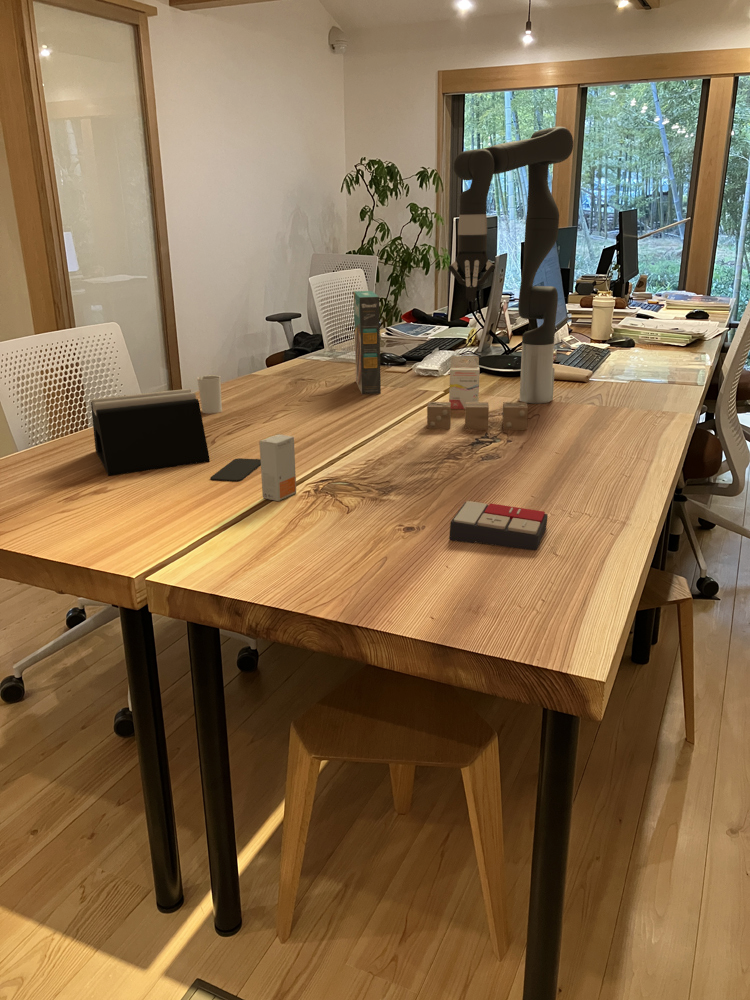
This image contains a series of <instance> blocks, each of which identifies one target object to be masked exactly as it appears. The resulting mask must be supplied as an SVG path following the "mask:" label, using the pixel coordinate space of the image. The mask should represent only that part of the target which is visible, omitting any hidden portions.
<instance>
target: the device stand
mask: <svg viewBox="0 0 750 1000" xmlns="http://www.w3.org/2000/svg"><path fill="white" fill-rule="evenodd" d="M90 406H91V417H92V426H93V427H92V429H93V435H94V436H93V437H94V447H95V452H96V454H97V457H98V458H99V460H100V463H101V464H102V466H103V468H104V470H105V472H106V474H107V477H111V476H119V475H124V474H125V475H127V474H131V473H132V474H133V473H139V472H146V471H152V470H154V471H155V470H161V469H167V468H174V467H180V466H181V467H182V466H189V465H196V464H203V463H209V462H211V461H210V454H209V450H208V449H209V447H208V444H207V438H206V433H205V427H204V422H203V417H202V410H201V404H200V401H199V399H198V398H197V395H196V392H194V391H192V389H191V388H186V389H185V388H184V389H182V388H181V389H176V390H175V389H174V390H165V391H157V392H154V391H153V392H144V393H138V394H137V393H136V394H135V393H134V394H128V395H127V394H125V395H116V396H106V397H99V398H91V402H90Z"/></svg>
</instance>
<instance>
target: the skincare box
mask: <svg viewBox="0 0 750 1000" xmlns="http://www.w3.org/2000/svg"><path fill="white" fill-rule="evenodd" d="M295 452H296V451H295V437H294V436H293V435H287V434H286V435H285V434H279V433H278V434H276V435H272V436H269V437H267V438H265V439H261V440H259V454H260V455H259V457H260V460H261V466H260V472H261V473H260V474H261V492H262V494H261V495H262V499H266V500H271V501H276V502H280V501H283V500H284V499H287V498H288V497H290V496H293V495H295V494H297V481H296V480H297V477H296V475H297V474H296V473H297V472H296V456H295V455H296V453H295Z"/></svg>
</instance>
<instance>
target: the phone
mask: <svg viewBox="0 0 750 1000" xmlns="http://www.w3.org/2000/svg"><path fill="white" fill-rule="evenodd" d="M259 467H261V460H260V459H259V458H258V459H257V458H238V457H237V458H235V459H233V460H231V461H230V462H229V463H227V464H226V465H225V466H223V467H222V468H221V469H219V470H218V471H217V472H216V473H214V474H212V476H210V480H211V481H217V482H218V481H219V482H233V483H234V482H237V483H238V482H243V480H245V479H246V478H248V476H250V475H251V474H252V473H253V472H254V471H256V470H257V469H258V468H259Z"/></svg>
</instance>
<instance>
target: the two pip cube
mask: <svg viewBox="0 0 750 1000" xmlns="http://www.w3.org/2000/svg"><path fill="white" fill-rule="evenodd" d="M528 408H529V407H528V403H526V402H522V401H520V402H517V401H515V402H514V401H513V402H510V401H507V402H503V403H502V430H503V431H508V430H509V431H527V430H528V429H527V428H528V411H529V410H528Z"/></svg>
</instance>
